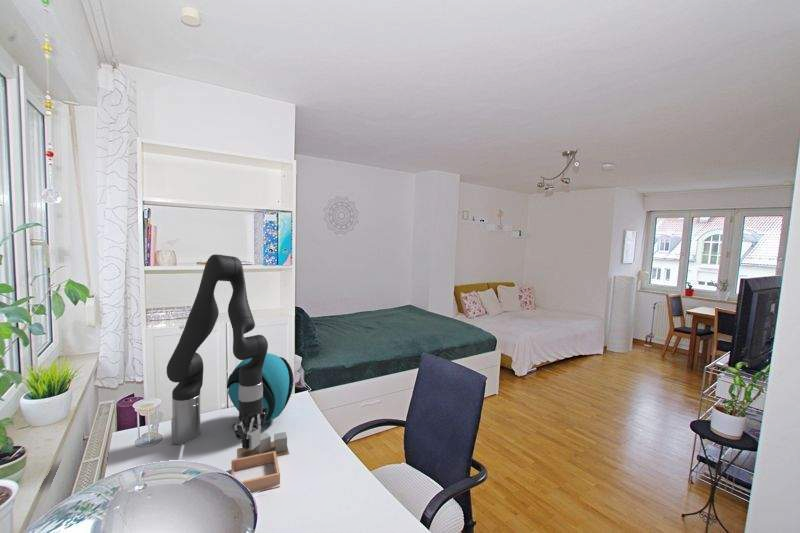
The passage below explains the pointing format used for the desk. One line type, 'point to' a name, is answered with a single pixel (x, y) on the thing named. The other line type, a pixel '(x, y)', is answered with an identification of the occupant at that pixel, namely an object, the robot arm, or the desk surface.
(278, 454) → the lid board
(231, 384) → the helmet
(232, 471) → the bin
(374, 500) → the desk surface
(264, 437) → the pale grey cube
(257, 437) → the stone
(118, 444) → the desk surface
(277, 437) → the stone
